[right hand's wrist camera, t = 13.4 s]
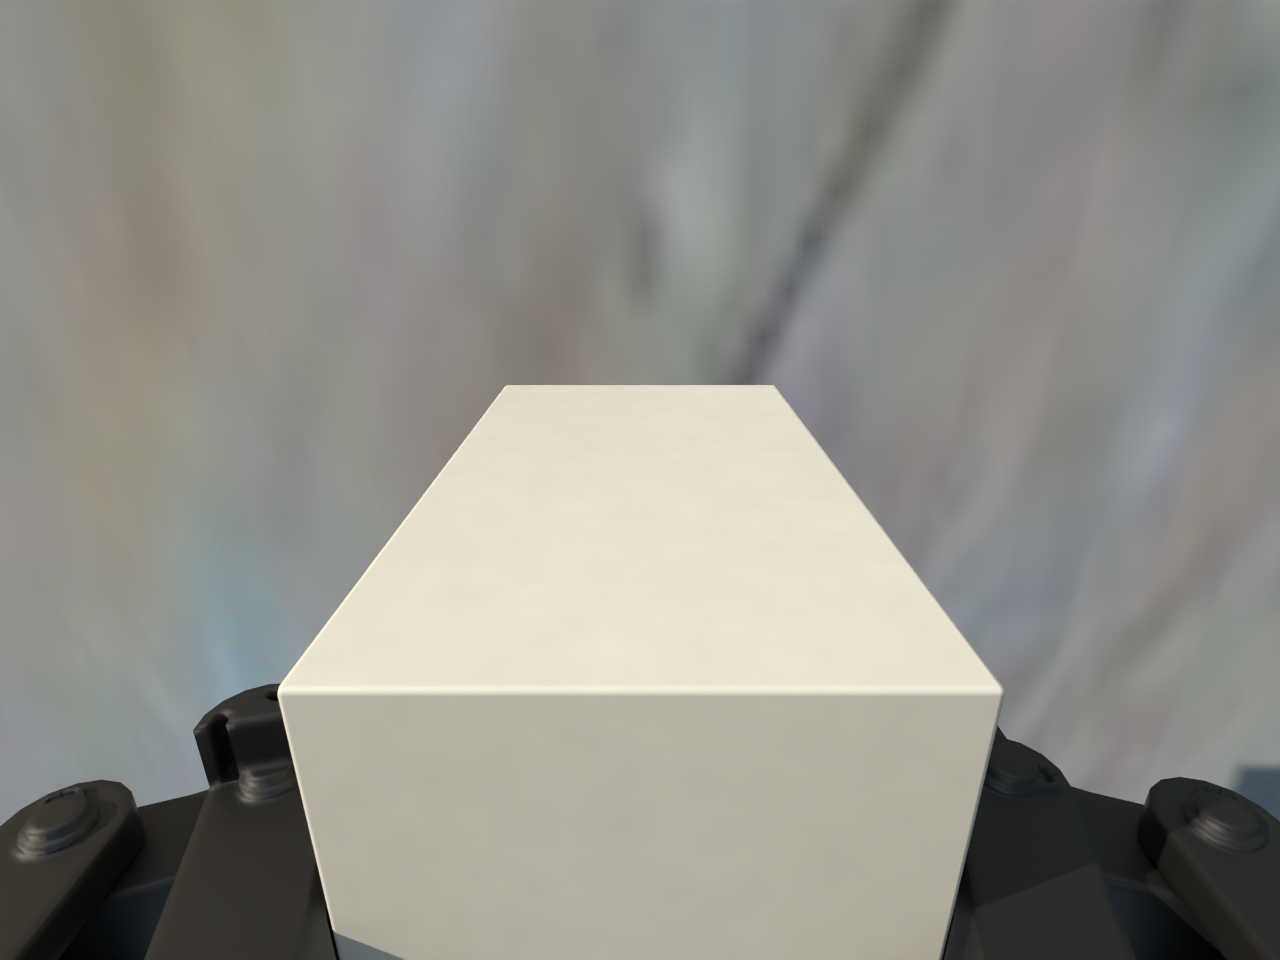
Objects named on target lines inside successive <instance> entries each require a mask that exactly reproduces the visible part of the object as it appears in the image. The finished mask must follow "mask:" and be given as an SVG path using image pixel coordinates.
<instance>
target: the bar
mask: <svg viewBox="0 0 1280 960" xmlns="http://www.w3.org/2000/svg"><path fill="white" fill-rule="evenodd" d="M277 695H278V700H279V704H280V708H281V712H282V717H283V721H284V725H285V729H286V734H287V738H288V742H289V746H290V751H291V755H292V759H293V763H294V768H295V772H296V776H297V780H298V785H299V789H300V793H301V797H302V802H303V806H304V810H305V814H306V819H307V823H308V827H309V831H310V836H311V840H312V844H313V848H314V853H315V857H316V861H317V865H318V870H319V874H320V878H321V882H322V887H323V891H324V895H325V899H326V904H327V908H328V912H329V916H330V921H331V925H332V929H333V933H334V938H335V942H336V946H337V950H338V955H339V959H340V960H942V957H943V953H944V948H945V944H946V940H947V936H948V931H949V927H950V923H951V919H952V915H953V910H954V906H955V902H956V898H957V893H958V889H959V885H960V881H961V877H962V872H963V868H964V864H965V860H966V855H967V851H968V847H969V843H970V839H971V834H972V830H973V826H974V822H975V818H976V813H977V809H978V805H979V801H980V796H981V792H982V788H983V784H984V780H985V775H986V771H987V767H988V763H989V758H990V754H991V750H992V746H993V742H994V737H995V733H996V729H997V725H998V720H999V716H1000V712H1001V708H1002V704H1003V699H1004V695H1005V694H1004V689H1003V686H1002V685H1001V683H1000V682H999V681H998V679H997V678H996V677H995V676H994V674H993V673H992V672H991V670H990V669H989V668H988V666H987V665H986V664H985V662H984V661H983V660H982V658H981V657H980V656H979V654H978V653H977V652H976V650H975V649H974V648H973V647H972V645H971V644H970V643H969V641H968V640H967V639H966V637H965V636H964V635H963V633H962V632H961V631H960V629H959V628H958V627H957V625H956V624H955V623H954V621H953V620H952V619H951V617H950V616H949V615H948V614H947V612H946V611H945V610H944V608H943V607H942V606H941V604H940V603H939V602H938V600H937V599H936V598H935V596H934V595H933V594H932V592H931V591H930V590H929V588H928V587H927V586H926V585H925V583H924V582H923V581H922V579H921V578H920V577H919V575H918V574H917V573H916V571H915V570H914V569H913V567H912V566H911V565H910V563H909V562H908V561H907V559H906V558H905V557H904V555H903V554H902V553H901V552H900V550H899V549H898V548H897V546H896V545H895V544H894V542H893V541H892V540H891V538H890V537H889V536H888V534H887V533H886V532H885V530H884V529H883V528H882V526H881V525H880V524H879V523H878V521H877V520H876V519H875V517H874V516H873V515H872V513H871V512H870V511H869V509H868V508H867V507H866V505H865V504H864V503H863V501H862V500H861V499H860V497H859V496H858V495H857V493H856V492H855V491H854V490H853V488H852V487H851V486H850V484H849V483H848V482H847V480H846V479H845V478H844V476H843V475H842V474H841V472H840V471H839V470H838V468H837V467H836V466H835V464H834V463H833V462H832V460H831V459H830V458H829V457H828V455H827V454H826V453H825V451H824V450H823V449H822V447H821V446H820V445H819V443H818V442H817V441H816V439H815V438H814V437H813V435H812V434H811V433H810V431H809V430H808V429H807V428H806V426H805V425H804V424H803V422H802V421H801V420H800V418H799V417H798V416H797V414H796V413H795V412H794V410H793V409H792V408H791V406H790V405H789V404H788V402H787V401H786V400H785V398H784V397H783V396H782V395H781V393H780V392H779V391H778V389H777V388H776V387H775V386H773V385H507V386H505V387H504V389H503V390H502V391H501V393H500V394H499V395H498V397H497V398H496V399H495V401H494V402H493V403H492V405H491V406H490V407H489V409H488V410H487V411H486V413H485V414H484V415H483V417H482V418H481V419H480V421H479V422H478V423H477V425H476V426H475V427H474V429H473V430H472V431H471V433H470V434H469V435H468V437H467V438H466V439H465V441H464V442H463V443H462V444H461V446H460V447H459V448H458V450H457V451H456V452H455V454H454V455H453V456H452V458H451V459H450V460H449V462H448V463H447V464H446V466H445V467H444V468H443V470H442V471H441V472H440V474H439V475H438V476H437V478H436V479H435V480H434V482H433V483H432V484H431V486H430V487H429V488H428V490H427V491H426V492H425V494H424V495H423V496H422V498H421V499H420V500H419V502H418V503H417V504H416V506H415V507H414V508H413V510H412V511H411V512H410V513H409V515H408V516H407V517H406V519H405V520H404V521H403V523H402V524H401V525H400V527H399V528H398V529H397V531H396V532H395V533H394V535H393V536H392V537H391V539H390V540H389V541H388V543H387V544H386V545H385V547H384V548H383V549H382V551H381V552H380V553H379V555H378V556H377V557H376V559H375V560H374V561H373V563H372V564H371V565H370V567H369V568H368V569H367V571H366V572H365V573H364V575H363V576H362V577H361V578H360V580H359V581H358V582H357V584H356V585H355V586H354V588H353V589H352V590H351V592H350V593H349V594H348V596H347V597H346V598H345V600H344V601H343V602H342V604H341V605H340V606H339V608H338V609H337V610H336V612H335V613H334V614H333V616H332V617H331V618H330V620H329V621H328V622H327V624H326V625H325V626H324V628H323V629H322V630H321V632H320V633H319V634H318V636H317V637H316V638H315V640H314V641H313V642H312V644H311V645H310V646H309V647H308V649H307V650H306V651H305V653H304V654H303V655H302V657H301V658H300V659H299V661H298V662H297V663H296V665H295V666H294V667H293V669H292V670H291V671H290V673H289V674H288V675H287V677H286V678H285V679H284V681H283V682H282V683H281V685H280V686H279V689H278V694H277Z"/></svg>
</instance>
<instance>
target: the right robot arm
mask: <svg viewBox="0 0 1280 960" xmlns="http://www.w3.org/2000/svg"><path fill="white" fill-rule="evenodd" d="M280 685H281V684H268V685H265V686H261V687H257V688H253V689H249V690H246V691H244V692H241V693H239V694H237V695H235V696H233V697H231V698H229V699H227V700H224V701H223V702H221V703H220V704H219V705H217V706H216V707H215V708H213V709H212V710H211V711H209V712H208V713H207V714H205V715H204V717H203V718H202V719H201V721H200V722H199V723H198V725H197V726H196V727H195V729H194V730H193V732H194V735H195V739H196V742H197V746H198V749H199V752H200V756H201V759H202V762H203V766H204V769H205V773H206V776H207V779H208V783H209V786H210V787H209V790H206V791H202V792H199V793H196V794H193V795H189V796H184V797H180V798H176V799H172V800H167V801H163V802H159V803H155V804H150V805H146V806H142V807H138V808H137V806H136V803H135V800H134V797H133V795H132V792H131V791H130V790H129V789H128V788H127V787H125V786H124V785H123V784H122V783H121V782H113V781H106V780H97V781H91V782H85V783H78V784H75V785H72V786H69V787H66V788H64V789H61V790H58V791H55V792H52V793H50V794H48V795H46V796H44V797H42V798H40V799H39V800H37V801H35V802H33V803H32V804H30V805H28V806H26V807H24V808H23V809H21V810H20V811H19V812H17V813H16V814H15V815H14V816H12V817H11V818H10V819H9V820H7V821H6V822H5V823H4V824H3V825H1V826H0V960H340V959H339V955H338V950H337V946H336V942H335V938H334V933H333V929H332V925H331V921H330V916H329V912H328V908H327V904H326V899H325V895H324V891H323V887H322V882H321V878H320V874H319V870H318V865H317V861H316V857H315V853H314V848H313V844H312V840H311V836H310V831H309V827H308V823H307V819H306V814H305V810H304V806H303V802H302V797H301V793H300V789H299V785H298V780H297V776H296V772H295V768H294V763H293V759H292V755H291V751H290V746H289V742H288V738H287V734H286V729H285V725H284V721H283V717H282V712H281V708H280V704H279V700H278V695H277V694H278V689H279V686H280ZM942 960H1280V822H1279V821H1278V820H1277V819H1276V818H1274V817H1273V816H1272V815H1271V814H1269V813H1268V812H1267V811H1266V810H1264V809H1263V808H1262V807H1261V806H1259V805H1257V804H1255V803H1254V802H1252V801H1250V800H1248V799H1246V798H1245V797H1243V796H1241V795H1239V794H1237V793H1236V792H1234V791H1231V790H1229V789H1226V788H1223V787H1220V786H1218V785H1215V784H1212V783H1209V782H1206V781H1202V780H1196V779H1189V778H1183V777H1177V778H1170V779H1163V780H1160V781H1159V782H1158V783H1156V784H1155V785H1154V786H1153V787H1152V788H1150V791H1149V794H1148V796H1147V799H1146V802H1145V805H1142V804H1138V803H1134V802H1129V801H1125V800H1121V799H1117V798H1112V797H1108V796H1104V795H1100V794H1095V793H1091V792H1088V791H1084V790H1081V789H1078V788H1074V787H1071V786H1070V785H1069V783H1068V781H1067V780H1066V778H1065V777H1064V775H1063V774H1062V772H1061V771H1060V769H1059V768H1057V767H1056V766H1055V765H1054V764H1053V763H1052V762H1050V761H1049V760H1048V759H1047V758H1046V757H1044V756H1043V755H1042V754H1040V753H1038V752H1036V751H1035V750H1033V749H1031V748H1029V747H1027V746H1025V745H1023V744H1021V743H1018V742H1015V741H1011V740H1008V739H1006V737H1005V736H1004V734H1003V733H1002V731H1001V730H1000V728H999V727H998V726H997V729H996V733H995V737H994V742H993V746H992V750H991V754H990V758H989V763H988V767H987V771H986V775H985V780H984V784H983V788H982V792H981V796H980V801H979V805H978V809H977V813H976V818H975V822H974V826H973V830H972V834H971V839H970V843H969V847H968V851H967V855H966V860H965V864H964V868H963V872H962V877H961V881H960V885H959V889H958V893H957V898H956V902H955V906H954V910H953V915H952V919H951V923H950V927H949V931H948V936H947V940H946V944H945V948H944V953H943V957H942Z"/></svg>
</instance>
